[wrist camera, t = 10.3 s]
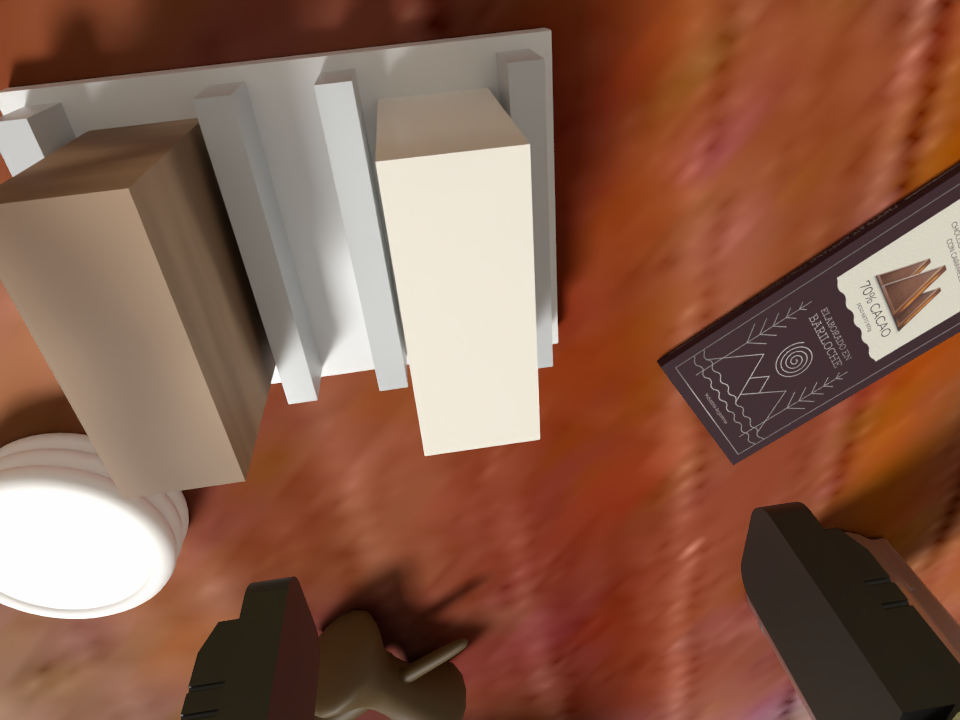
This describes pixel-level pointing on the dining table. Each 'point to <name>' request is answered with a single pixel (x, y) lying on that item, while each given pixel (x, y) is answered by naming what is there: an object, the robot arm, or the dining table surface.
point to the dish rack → (315, 178)
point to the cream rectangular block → (462, 264)
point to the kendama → (384, 676)
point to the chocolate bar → (828, 325)
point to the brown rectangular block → (141, 303)
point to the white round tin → (80, 532)
